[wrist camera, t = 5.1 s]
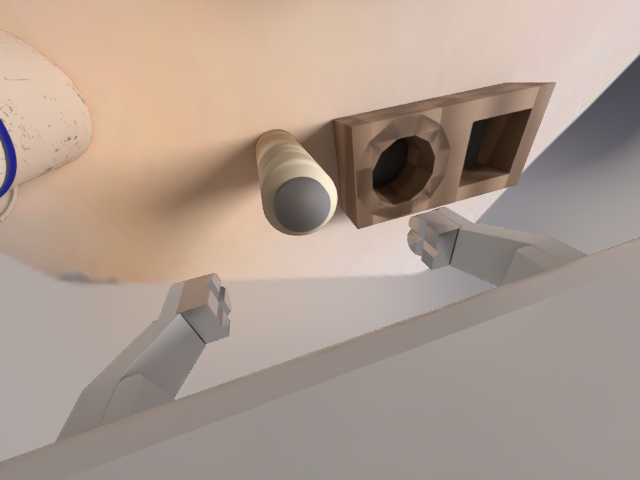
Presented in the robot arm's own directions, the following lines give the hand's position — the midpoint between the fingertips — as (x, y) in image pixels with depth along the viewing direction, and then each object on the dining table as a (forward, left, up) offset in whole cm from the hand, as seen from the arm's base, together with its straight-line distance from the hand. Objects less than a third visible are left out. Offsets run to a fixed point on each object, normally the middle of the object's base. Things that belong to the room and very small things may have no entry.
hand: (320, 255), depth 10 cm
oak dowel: (0, 0, -17) cm, 17 cm away
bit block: (-16, +3, -17) cm, 24 cm away
